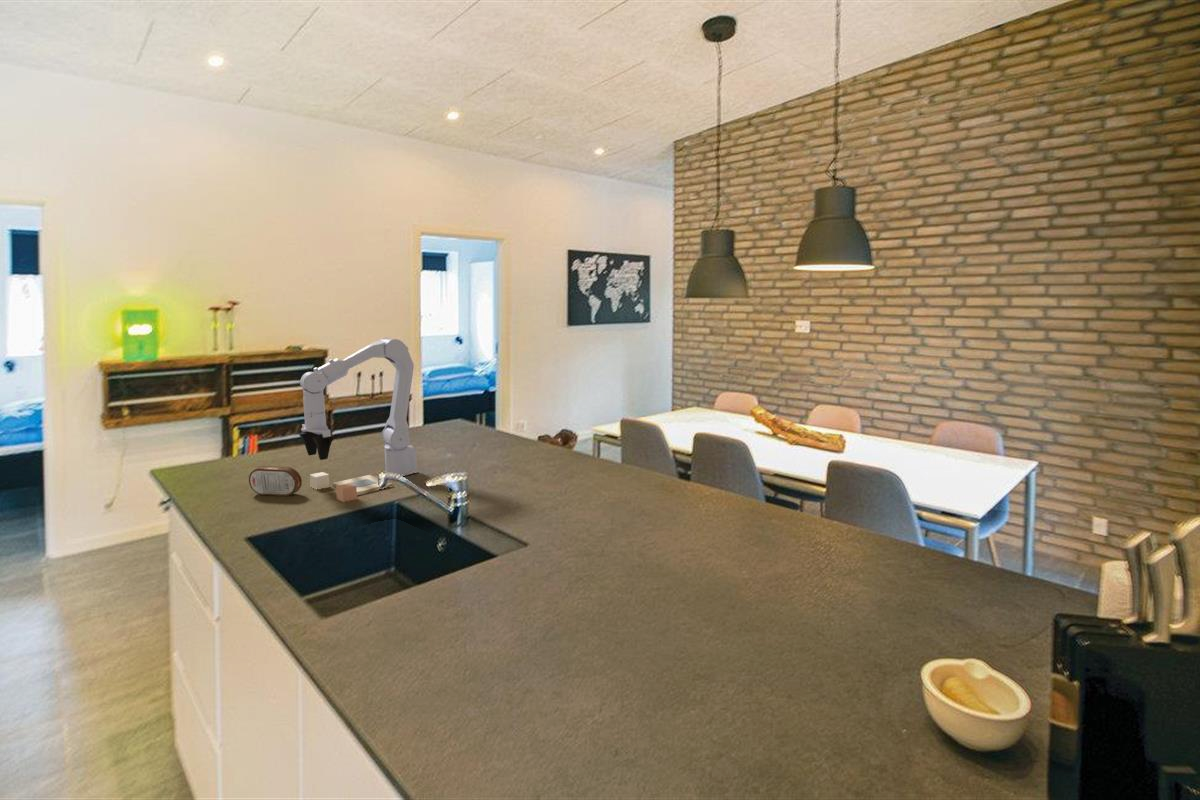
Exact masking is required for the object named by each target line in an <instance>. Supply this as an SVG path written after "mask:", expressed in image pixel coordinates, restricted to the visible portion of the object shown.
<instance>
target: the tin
mask: <svg viewBox="0 0 1200 800" xmlns="http://www.w3.org/2000/svg"><path fill="white" fill-rule="evenodd" d="M302 480H303V479H302V477H301V474H300V473H299V472H298V470H296V469H294V468H293V467H290V466H280V465H279V466H277V465H261V466H258V467H256V468H255V469H253V470H252V471H250V473H249V475H248V484H249V487H250V488H251V490H252V491H253V492H254V493H256V494H257V495H261V496H274V497H276V496H277V497H289V496H292V495H294V494H296V493H297V492H299V491H300V489H301V488H302V486H303V485H302V484H303V481H302Z"/></svg>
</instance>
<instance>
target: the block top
mask: <svg viewBox="0 0 1200 800" xmlns="http://www.w3.org/2000/svg"><path fill="white" fill-rule="evenodd" d="M335 495H336V500H337V499H338V500H337V501H339V500H340V501H339V502H341V501H342V503H346V501H347V502H350V500H351V501H355V500H358V495H357V490H356V486H355V485H353V484H351V483H348V484H343V485H339V486H336V487H335ZM354 499H355V500H354Z"/></svg>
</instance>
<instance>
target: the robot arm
mask: <svg viewBox="0 0 1200 800" xmlns="http://www.w3.org/2000/svg"><path fill="white" fill-rule="evenodd" d="M373 358H378V359H379V358H380V359H381V358H383V359H386V360H387V361H388V362H390V363H391V365H392V366H393V367H394V368H395V375H394V383H393V391H392V397H391V398H392V399H391V404H390V405H391V406H390V412H389V417H388V419H387V420H386V423H385V427H384V428H383V430H382V432H381V439H382V440H383V442H384V443H385V444H384V462H385V463H384V464H385V467H384V468H385V472H393V473H399V474H404V473H409V472H412V471H416V470H417V471H418V459H417V457H418V455H417V452H416V448H415V447H414V446H413V445H411V444H410V441H411V437H410V433H409V424H408V421H407V417H408V410H409V403H410V402H409V401H410V396H411V389H412V382H413V375H414V366H415V365H414V362H413V360H412V357H411V353H410V352H409V347H408V346H407V345H406V344H405V343H404V342H403V341H402V340H400V339H396V338H390V337H383V338H381V339H379V340H375V341H374V342H371V343H370V344H368V345H366V346H364V347H362V348H361V349H359V350H357V351H356V352H354V353H352V354H351V355H349V356H347V357H345V358H344V359H340V358H335V359H333V358H330V359H329V360H327V362H326V363H325V364H323V365H322V366H319V367H314V368H313V371H307V372H305V373H304V374H302V376H301V378H300V381H299V385H300V387H301V389H302V395H303V397H302V403H303V415H304V423H303V424H301V426H302V427H301V429H300V430H301V432H299V434H298V435H299V437H300V439H302V442H303V444H304V446H305V450H306V452H307V455H308V456H315V455H317V454H318V458H319V460H320V461H323V460H328V458H329V453H330V448H331V445H332V443H333V442H334V439H335V436H334V435H332V434H331V429H329V427H328V426H327V420H326V419H327V417H326V407H325V405H326V404H325V395H324V389H325V388H326V386H329V385H331V384H333V383H334V382H337V381H339V380H341V379H342V378H344V377H346V376H348V372H349V370H351V369H352V368H354V367H356V366H358V365H361V364H362V363H365V362H366V361H368V360H370V359H373ZM409 444H410V445H409Z"/></svg>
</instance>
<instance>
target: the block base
mask: <svg viewBox="0 0 1200 800" xmlns="http://www.w3.org/2000/svg"><path fill="white" fill-rule="evenodd" d="M309 483H310V484H309V487H310V488H311V487H312V488H311V489H313V488H314V490H316V491H318V490H322V488H323V489H326V488H330V474H329V473H326V472H324V471H321V472H316V473H310V474H309ZM317 489H318V490H317Z"/></svg>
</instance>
